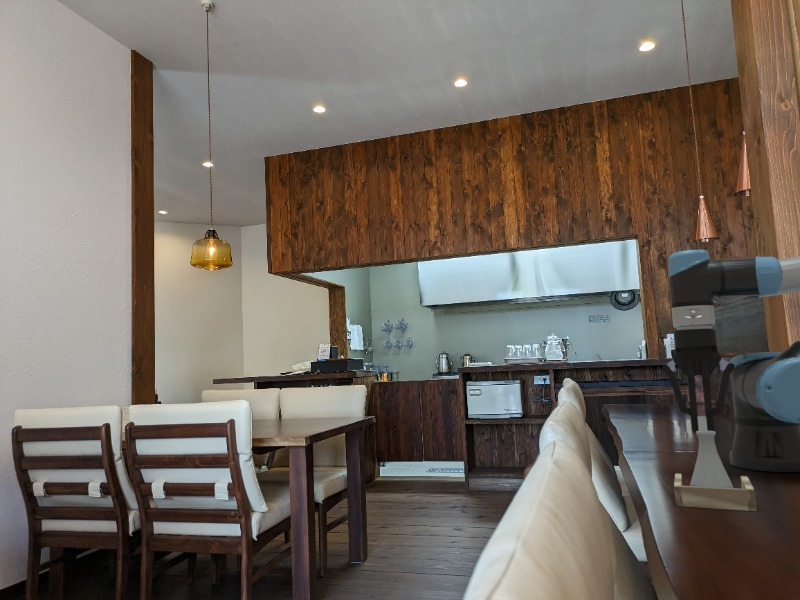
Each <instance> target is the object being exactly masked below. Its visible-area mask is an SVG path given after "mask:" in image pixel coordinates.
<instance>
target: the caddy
mask: <svg viewBox="0 0 800 600" xmlns="http://www.w3.org/2000/svg"><path fill="white" fill-rule="evenodd" d="M682 475H683V474H682V473H675V474H674V483H673V484H674V485H673V489H674V499H675V507H681V508H682V507H686V508H701V509H713V510H717V509H718V510H733V511H747V512H749V511H751V512H757V510H758V509H757V501H756V499H757V498H756V492H755V488H754V487H753V485H752V482H751V480H750V479H749V477H748V475H740V485H741V488H739V487H738V488H737V487H736V488H735V487H734V488H719V487H698V486H690V485H683V477H682Z"/></svg>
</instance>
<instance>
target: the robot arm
mask: <svg viewBox="0 0 800 600" xmlns="http://www.w3.org/2000/svg"><path fill="white" fill-rule="evenodd" d="M667 278H668V282H669V293H670V303H671V318H672V327H673V328H675V330H674V332H673V341H674V354H673V356H672V360H670V361H669V362H667V363H666V364H663V365H662V366H661V368H662V371H663V372H664V373H665V374H666V375H667V376H668V379H669V382H670V385H671V388H672V390H673V393H674V396H675V400H676V402H677V404H678V408H679V411H680V412H681V413H682V414H686V415H688V416H689V417H690V423H691V431H692V432H693V434H696V431H715V426H714V416H715V415H718V414H721V413H723V412H724V407H725V401H726V396H727V390H728V385H729V379H730V383H731V392H732V393H731V394H732V402H733V403H732V404H733V413H734V419H735V420H734V421H735V431H734V435H733V441H732V447H731V450H730V451H729V462H730V463H729V464H730V465H731V466H733V467H735V468H740V469H746V470H752V471H760V472H762V471H763V472H776V473H777V472H779V473H792V472H794V473H797V472H800V339H799V340H796V341H794V342H793V343H792V344H791V345H790V346H789V345H788V347H786V349H784V350H783V351H764V352H763V351H762V352H761V351H760V352H752V353H751V352H750V353H747V354H744V353H743V354H740V355H739V354H738V355H736V356H734V357H732V358H731V359H730V361H728V360H725V359H723V358H722V355H721V353H720V352H719V350H718V341H717V330H716V329H715V328H713V327H714V326H716V319H715V318H716V316H715V307H714V305H715V304H714V303H716V304H719V305H729V304H732V303H734V302H740V301H747V300H754V299H760V298H767V297H773V296H774V297H775V296H780V295H787V294H794V293H800V255H799V256H798V255H797V256H792V257H786V258H781V259H780V258H779V259H778V258H777V257H775V256H759V255H756V256H753V257H742V258H741V257H739V258H738V257H737V258H727V259H711V256H710V254H709V251H707V250H706V249H688V250H681V251H676V252H674V253H672V254H670V256H669V258H668V276H667ZM718 365H720V366H719V370H720V371H721V372H722V373H721V375H720V382H719V386H718V392H717V396H716V403H715V406H714V407H713V404H712V403H713V402H712V392H711V391H712V390H711V381H710V379H711V378H710V375H711V374H713V372H714V371H715V369H716V368H717V366H718ZM676 366H677V367H678V369H680V370H681V371H682V372H683V373H684V374H685V375H686V376H687V385H688V388H687V389H688V397H689V399H688V400H689V406H687V405H686V402H685V399H684V396H683V394H682V391H681V388H680V384H679V382H678V379H677V376H676V374H675V372H676V371H677V368H676ZM696 376H701V379H702V389H703V391H702V393H703V401H704V412H705V414H704V415H699V414H698V403H697V402H698V401H697V392H696V391H697V390H696V380H695V379H696V378H695V377H696Z"/></svg>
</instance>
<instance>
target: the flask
mask: <svg viewBox="0 0 800 600" xmlns="http://www.w3.org/2000/svg"><path fill="white" fill-rule="evenodd" d="M716 433H717V432H716V431H715V430H714V431H696V433H695V434H696V436H697V437H698V451H697V456H696V460H695V464H694V468H693V473H692V476H691V479H690V482H689V486H698V487H719V488H735V487H734V486H733V483H732V481H731V479H730V477H729V475H728V472H727V470H726V469H725V467H724V466H725V465H724V464H723V462H722V459H721V457H720V455H719V452H718V449H717V446H716V441H715V436H716Z"/></svg>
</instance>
